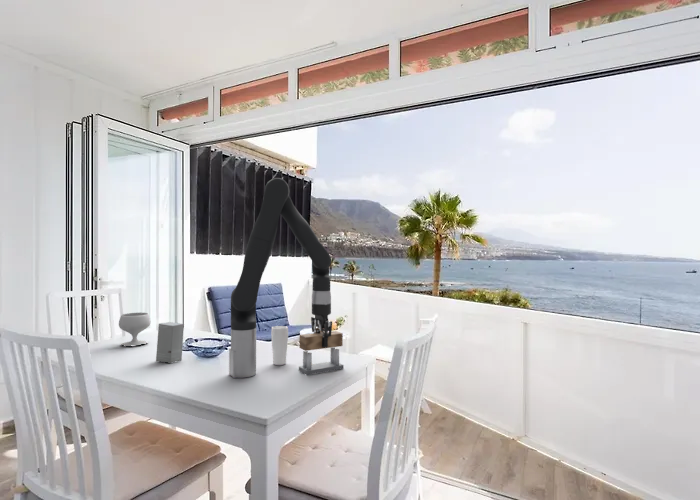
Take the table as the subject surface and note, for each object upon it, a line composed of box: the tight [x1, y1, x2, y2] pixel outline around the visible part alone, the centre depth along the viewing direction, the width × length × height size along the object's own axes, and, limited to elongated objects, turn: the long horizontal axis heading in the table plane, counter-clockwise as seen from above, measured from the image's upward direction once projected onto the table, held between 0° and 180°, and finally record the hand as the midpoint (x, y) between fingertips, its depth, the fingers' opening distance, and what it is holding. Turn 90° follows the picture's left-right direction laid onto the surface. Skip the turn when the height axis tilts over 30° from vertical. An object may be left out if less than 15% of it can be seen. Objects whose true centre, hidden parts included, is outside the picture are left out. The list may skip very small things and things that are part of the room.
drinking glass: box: [270, 325, 289, 366], centre depth 167 cm, size 7×7×15 cm
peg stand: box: [298, 347, 345, 376], centre depth 159 cm, size 16×7×8 cm, turn 121°
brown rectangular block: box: [299, 330, 344, 352], centre depth 159 cm, size 16×6×5 cm, turn 121°
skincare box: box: [155, 321, 185, 364], centre depth 172 cm, size 8×7×16 cm
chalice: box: [118, 312, 151, 347], centre depth 202 cm, size 14×14×15 cm
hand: (321, 345), depth 159 cm, fingers closed on brown rectangular block, 5 cm apart
